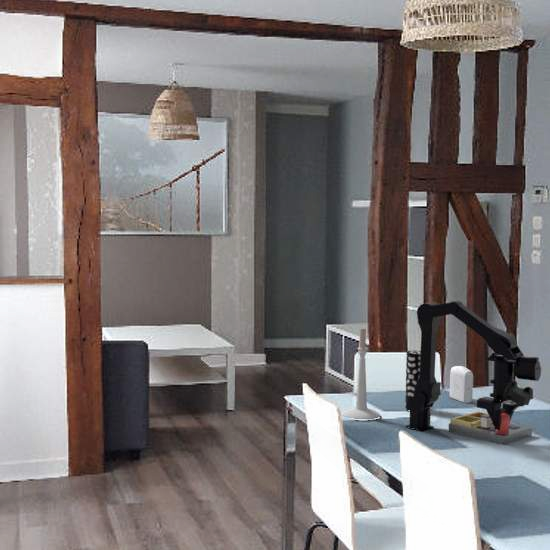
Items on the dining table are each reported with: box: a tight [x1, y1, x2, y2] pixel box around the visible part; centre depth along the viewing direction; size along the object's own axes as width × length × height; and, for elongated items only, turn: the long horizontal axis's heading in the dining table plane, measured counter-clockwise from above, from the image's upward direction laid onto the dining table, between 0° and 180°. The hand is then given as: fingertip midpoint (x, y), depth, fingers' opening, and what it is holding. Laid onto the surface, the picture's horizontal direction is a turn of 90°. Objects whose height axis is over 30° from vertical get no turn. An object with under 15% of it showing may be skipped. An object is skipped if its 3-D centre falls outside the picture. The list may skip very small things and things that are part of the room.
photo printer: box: [449, 365, 474, 404], centre depth 304 cm, size 10×4×12 cm, turn 22°
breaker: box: [481, 413, 491, 428], centre depth 254 cm, size 2×2×3 cm
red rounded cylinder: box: [495, 413, 511, 435], centre depth 248 cm, size 4×4×6 cm
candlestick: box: [341, 327, 382, 419], centre depth 277 cm, size 13×13×30 cm
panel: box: [448, 411, 533, 445], centre depth 257 cm, size 16×20×4 cm
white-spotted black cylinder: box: [404, 350, 421, 410], centre depth 287 cm, size 8×8×20 cm
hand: (501, 428), depth 248 cm, fingers closed on red rounded cylinder, 4 cm apart
